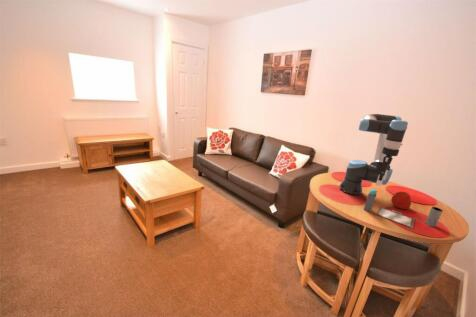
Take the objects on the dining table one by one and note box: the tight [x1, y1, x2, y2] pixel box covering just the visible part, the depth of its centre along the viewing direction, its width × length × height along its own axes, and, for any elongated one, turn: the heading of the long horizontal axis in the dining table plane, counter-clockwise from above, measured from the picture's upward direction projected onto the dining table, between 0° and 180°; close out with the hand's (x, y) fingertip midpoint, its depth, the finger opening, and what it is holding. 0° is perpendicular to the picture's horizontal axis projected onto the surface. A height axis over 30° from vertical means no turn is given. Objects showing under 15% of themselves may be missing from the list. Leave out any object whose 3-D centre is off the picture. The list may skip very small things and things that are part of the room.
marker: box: [363, 188, 378, 213], centre depth 128 cm, size 4×4×14 cm
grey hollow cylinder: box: [425, 206, 443, 228], centre depth 117 cm, size 4×4×10 cm
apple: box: [390, 191, 412, 210], centre depth 135 cm, size 10×10×10 cm
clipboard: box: [374, 206, 416, 230], centre depth 124 cm, size 18×13×1 cm
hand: (380, 182), depth 124 cm, fingers open, 13 cm apart
